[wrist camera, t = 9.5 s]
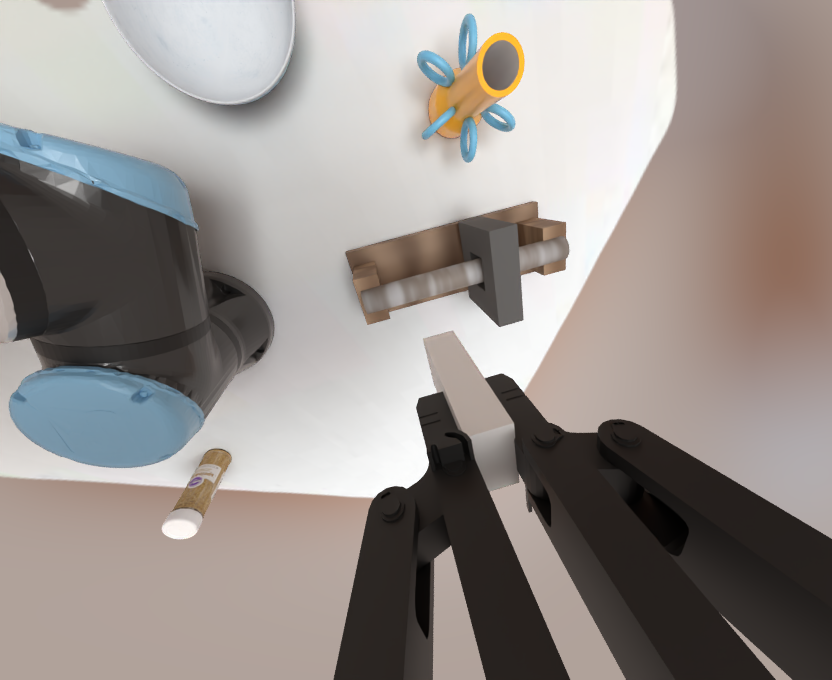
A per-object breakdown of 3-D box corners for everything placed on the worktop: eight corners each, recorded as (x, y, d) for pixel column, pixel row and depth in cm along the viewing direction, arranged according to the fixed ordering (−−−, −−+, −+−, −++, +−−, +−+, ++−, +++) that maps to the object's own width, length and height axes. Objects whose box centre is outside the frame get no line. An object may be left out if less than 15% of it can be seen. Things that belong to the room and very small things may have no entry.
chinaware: (335, 26, 32) (328, -17, 26) (267, 152, 36) (245, 143, 29) (187, -129, 27) (126, -239, 20) (124, 41, 30) (56, -2, 24)
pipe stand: (367, 314, 47) (368, 344, 38) (346, 251, 43) (341, 268, 33) (534, 267, 49) (576, 286, 39) (532, 201, 44) (578, 204, 34)
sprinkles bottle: (221, 444, 54) (182, 516, 42) (237, 460, 56) (204, 533, 44) (198, 454, 54) (152, 528, 42) (215, 469, 56) (175, 544, 44)
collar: (469, 297, 45) (499, 327, 35) (458, 221, 40) (489, 231, 30) (488, 292, 45) (523, 320, 36) (479, 215, 40) (517, 224, 30)
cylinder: (490, 162, 41) (553, 149, 28) (415, 170, 40) (442, 160, 26) (492, 42, 35) (572, -48, 22) (405, 47, 34) (433, -44, 21)
